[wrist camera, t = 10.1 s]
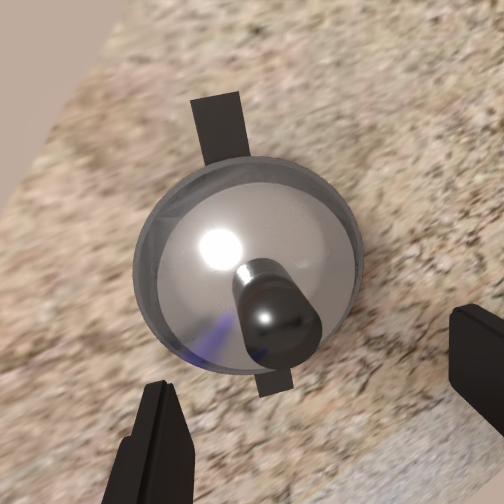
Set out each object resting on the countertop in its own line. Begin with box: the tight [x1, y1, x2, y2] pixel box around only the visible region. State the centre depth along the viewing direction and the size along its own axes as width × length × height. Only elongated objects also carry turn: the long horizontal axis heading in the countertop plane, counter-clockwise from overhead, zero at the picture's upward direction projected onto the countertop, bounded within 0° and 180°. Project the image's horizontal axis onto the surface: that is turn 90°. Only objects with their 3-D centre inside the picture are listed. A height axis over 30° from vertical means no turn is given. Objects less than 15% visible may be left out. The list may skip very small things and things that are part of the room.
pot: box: [133, 91, 364, 398], centre depth 22 cm, size 14×20×9 cm
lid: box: [157, 182, 355, 370], centre depth 15 cm, size 11×11×6 cm
